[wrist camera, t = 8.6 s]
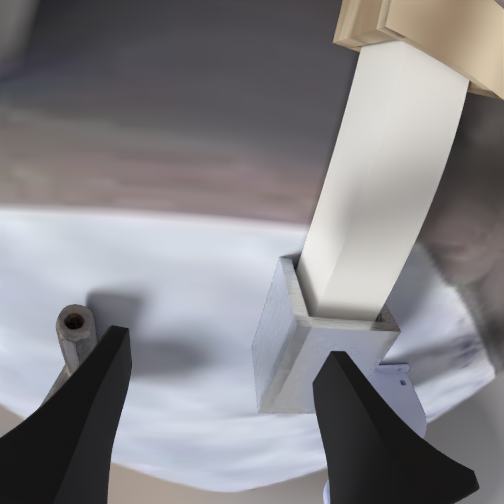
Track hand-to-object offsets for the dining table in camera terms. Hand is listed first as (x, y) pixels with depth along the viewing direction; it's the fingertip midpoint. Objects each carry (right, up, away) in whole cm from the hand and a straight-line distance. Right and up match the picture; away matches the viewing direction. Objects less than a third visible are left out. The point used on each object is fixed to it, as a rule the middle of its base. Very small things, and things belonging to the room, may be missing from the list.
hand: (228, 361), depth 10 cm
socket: (+9, +17, +3) cm, 20 cm away
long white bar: (+7, +9, +7) cm, 14 cm away
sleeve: (+5, 0, +13) cm, 14 cm away
